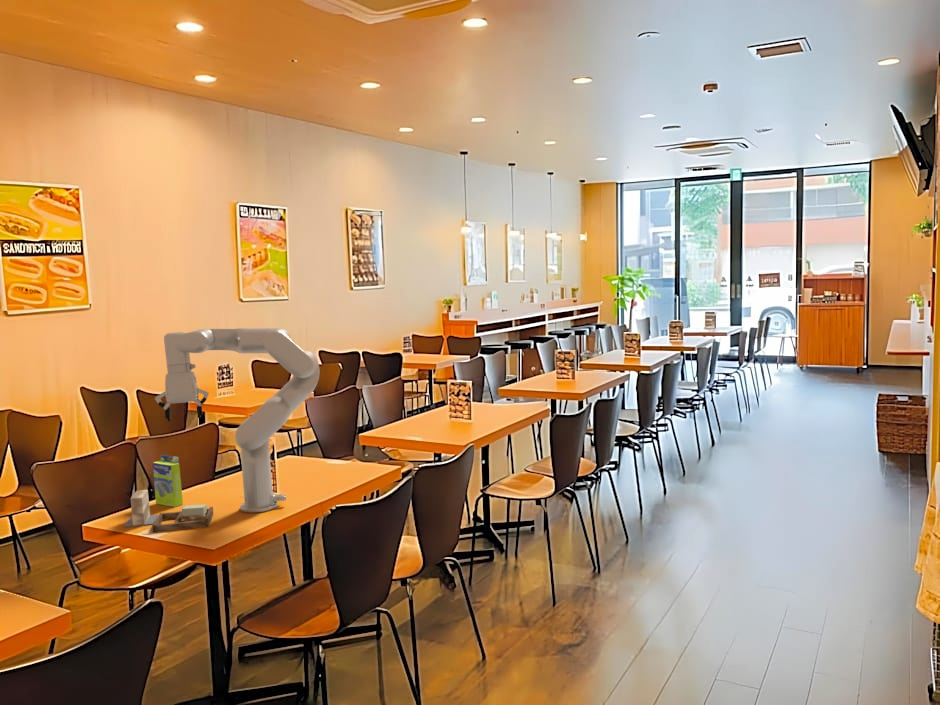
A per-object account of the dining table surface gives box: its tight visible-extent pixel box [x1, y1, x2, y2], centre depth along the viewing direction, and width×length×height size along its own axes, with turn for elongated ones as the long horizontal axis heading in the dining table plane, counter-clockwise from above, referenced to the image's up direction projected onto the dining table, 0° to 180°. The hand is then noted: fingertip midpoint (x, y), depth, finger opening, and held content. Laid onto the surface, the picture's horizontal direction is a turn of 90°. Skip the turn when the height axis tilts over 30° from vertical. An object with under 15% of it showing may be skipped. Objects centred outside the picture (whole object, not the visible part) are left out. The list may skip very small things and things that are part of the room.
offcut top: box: [181, 504, 208, 516], centre depth 260 cm, size 4×7×2 cm, turn 93°
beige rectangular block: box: [130, 489, 151, 525], centre depth 263 cm, size 4×10×9 cm, turn 12°
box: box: [152, 454, 184, 508], centre depth 282 cm, size 10×4×17 cm, turn 58°
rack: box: [151, 506, 214, 533], centre depth 260 cm, size 17×14×2 cm
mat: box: [123, 514, 159, 528], centre depth 264 cm, size 9×10×1 cm
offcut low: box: [183, 514, 206, 522], centre depth 261 cm, size 4×9×3 cm, turn 37°
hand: (184, 419), depth 268 cm, fingers open, 9 cm apart
